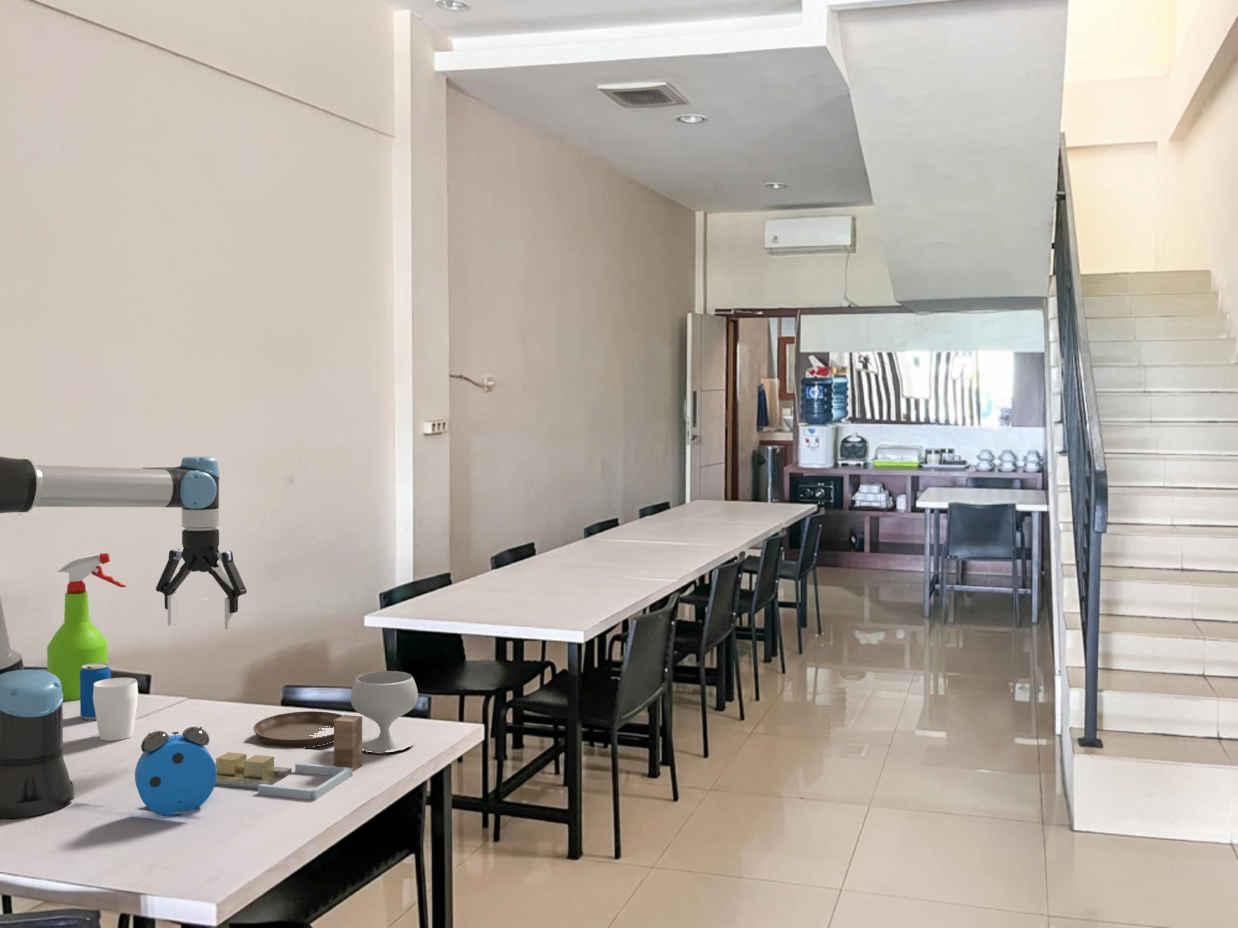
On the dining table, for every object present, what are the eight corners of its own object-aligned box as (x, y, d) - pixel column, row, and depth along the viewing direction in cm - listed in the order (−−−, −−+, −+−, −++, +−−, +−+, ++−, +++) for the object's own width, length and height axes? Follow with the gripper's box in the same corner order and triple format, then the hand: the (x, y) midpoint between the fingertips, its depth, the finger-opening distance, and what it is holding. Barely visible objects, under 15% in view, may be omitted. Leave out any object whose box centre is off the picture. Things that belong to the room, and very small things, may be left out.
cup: (146, 731, 252) (145, 678, 252) (125, 743, 243) (124, 688, 243) (107, 729, 253) (107, 676, 253) (85, 741, 244) (84, 686, 244)
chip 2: (262, 783, 216) (262, 762, 215) (243, 781, 217) (243, 760, 216) (274, 776, 220) (273, 756, 219) (255, 775, 221) (255, 754, 220)
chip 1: (234, 780, 217) (234, 760, 217) (216, 778, 218) (216, 758, 218) (246, 774, 221) (246, 753, 221) (228, 772, 222) (228, 752, 222)
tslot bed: (263, 794, 212) (263, 784, 212) (188, 786, 216) (188, 776, 216) (291, 778, 222) (291, 768, 222) (219, 770, 226) (219, 760, 226)
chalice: (431, 743, 246) (431, 674, 245) (387, 760, 234) (386, 688, 233) (382, 733, 253) (382, 666, 252) (336, 749, 241) (336, 679, 240)
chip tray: (315, 804, 207) (315, 791, 207) (258, 798, 210) (258, 785, 210) (352, 780, 221) (352, 767, 221) (297, 775, 224) (297, 762, 224)
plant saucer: (358, 747, 243) (358, 731, 243) (257, 757, 236) (257, 741, 236) (344, 721, 263) (344, 707, 262) (250, 730, 255) (250, 715, 255)
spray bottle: (124, 696, 282) (122, 556, 280) (43, 702, 276) (41, 558, 274) (129, 683, 295) (127, 549, 293) (52, 688, 289) (50, 551, 287)
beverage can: (80, 714, 265) (79, 663, 265) (110, 711, 268) (110, 661, 267) (80, 721, 259) (79, 669, 259) (111, 718, 262) (110, 667, 261)
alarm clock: (211, 800, 209) (211, 720, 208) (217, 811, 204) (216, 728, 203) (134, 812, 203) (133, 729, 202) (138, 823, 197) (137, 738, 197)
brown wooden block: (352, 777, 223) (352, 721, 223) (334, 775, 224) (334, 720, 224) (362, 770, 227) (362, 716, 226) (344, 768, 228) (343, 714, 227)
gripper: (262, 528, 246) (262, 625, 247) (159, 524, 251) (160, 619, 252) (244, 532, 239) (244, 632, 240) (138, 528, 244) (139, 626, 245)
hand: (201, 626), depth 246 cm, fingers open, 13 cm apart
